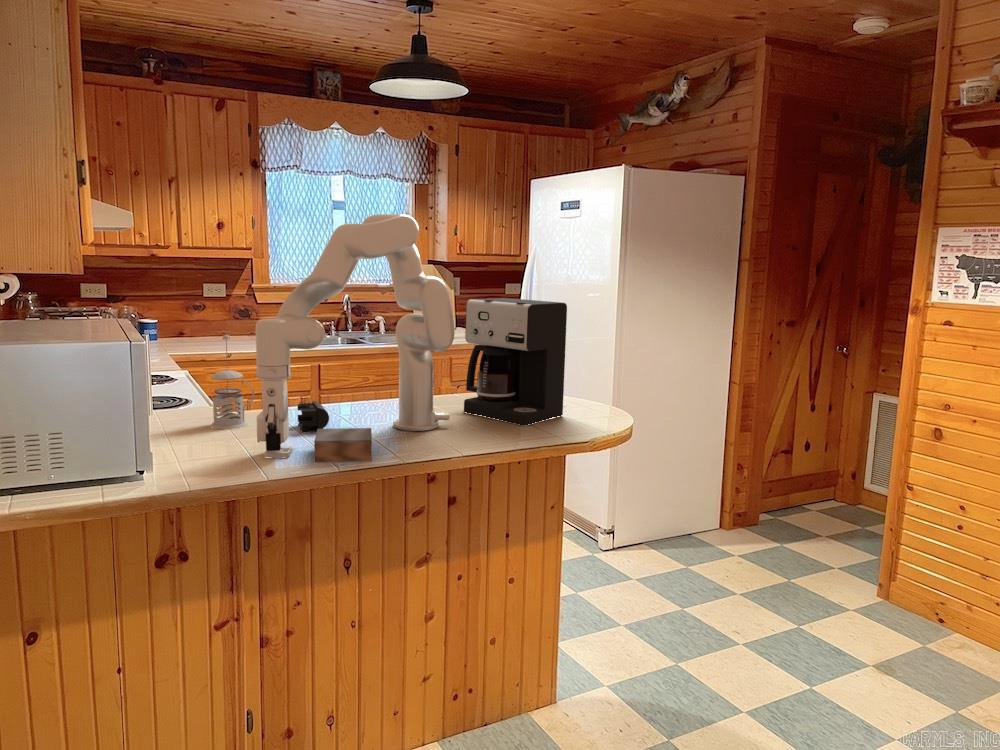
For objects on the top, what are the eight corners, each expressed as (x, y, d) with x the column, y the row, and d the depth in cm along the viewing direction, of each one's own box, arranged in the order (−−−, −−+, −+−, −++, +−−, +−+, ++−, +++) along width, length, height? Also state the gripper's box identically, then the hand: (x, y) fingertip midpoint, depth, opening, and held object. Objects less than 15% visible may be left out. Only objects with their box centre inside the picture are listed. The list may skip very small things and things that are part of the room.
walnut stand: (371, 447, 187) (371, 427, 186) (371, 460, 175) (371, 439, 175) (317, 448, 185) (317, 428, 184) (314, 462, 173) (314, 440, 172)
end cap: (329, 431, 203) (329, 407, 201) (302, 433, 200) (302, 408, 199) (323, 423, 212) (323, 400, 211) (297, 425, 209) (297, 401, 208)
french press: (208, 422, 209) (205, 333, 205) (252, 419, 213) (250, 332, 209) (211, 430, 200) (207, 337, 196) (256, 427, 205) (254, 336, 201)
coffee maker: (452, 411, 232) (454, 297, 226) (493, 402, 247) (496, 296, 241) (523, 426, 214) (527, 303, 208) (563, 416, 229) (568, 301, 223)
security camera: (263, 451, 181) (262, 410, 179) (293, 451, 182) (292, 410, 180) (257, 458, 175) (256, 416, 173) (287, 458, 175) (287, 416, 174)
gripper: (286, 378, 167) (288, 455, 170) (293, 366, 184) (294, 437, 187) (251, 378, 166) (253, 456, 169) (261, 366, 183) (263, 437, 186)
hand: (275, 445), depth 178 cm, fingers closed on security camera, 6 cm apart
